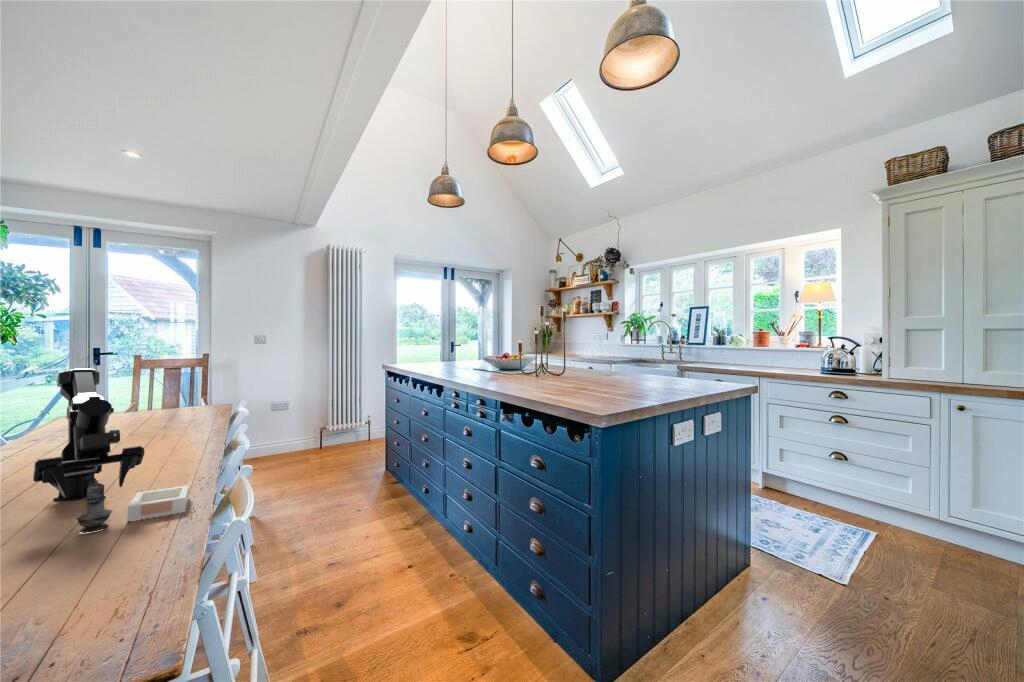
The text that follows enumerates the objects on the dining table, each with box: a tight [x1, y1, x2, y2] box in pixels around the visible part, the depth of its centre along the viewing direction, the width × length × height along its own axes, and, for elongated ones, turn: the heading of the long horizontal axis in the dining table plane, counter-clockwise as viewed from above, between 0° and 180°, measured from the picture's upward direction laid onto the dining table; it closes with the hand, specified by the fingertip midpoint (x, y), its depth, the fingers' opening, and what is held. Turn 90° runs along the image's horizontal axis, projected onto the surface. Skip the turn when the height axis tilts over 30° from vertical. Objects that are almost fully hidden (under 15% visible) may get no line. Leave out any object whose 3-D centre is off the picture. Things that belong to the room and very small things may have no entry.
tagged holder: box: [126, 484, 190, 523], centre depth 104 cm, size 11×12×4 cm
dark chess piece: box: [76, 479, 112, 533], centre depth 93 cm, size 6×6×12 cm
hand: (94, 491), depth 94 cm, fingers open, 9 cm apart
